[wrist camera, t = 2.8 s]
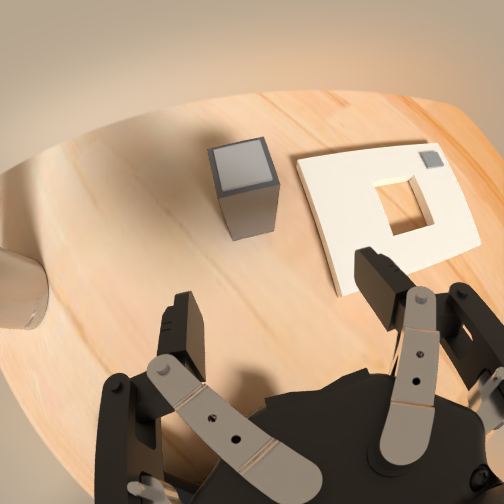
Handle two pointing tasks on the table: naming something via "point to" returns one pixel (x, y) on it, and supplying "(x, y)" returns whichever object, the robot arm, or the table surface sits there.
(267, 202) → the grey rectangular peg
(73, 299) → the table surface
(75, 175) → the table surface
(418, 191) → the plate
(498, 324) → the robot arm
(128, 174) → the table surface
